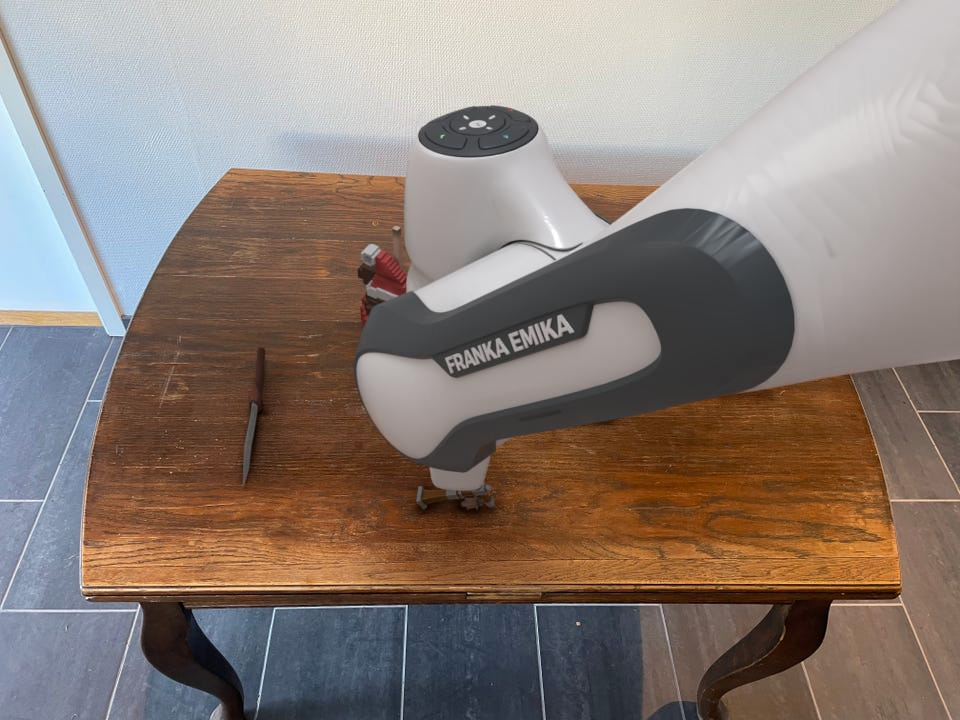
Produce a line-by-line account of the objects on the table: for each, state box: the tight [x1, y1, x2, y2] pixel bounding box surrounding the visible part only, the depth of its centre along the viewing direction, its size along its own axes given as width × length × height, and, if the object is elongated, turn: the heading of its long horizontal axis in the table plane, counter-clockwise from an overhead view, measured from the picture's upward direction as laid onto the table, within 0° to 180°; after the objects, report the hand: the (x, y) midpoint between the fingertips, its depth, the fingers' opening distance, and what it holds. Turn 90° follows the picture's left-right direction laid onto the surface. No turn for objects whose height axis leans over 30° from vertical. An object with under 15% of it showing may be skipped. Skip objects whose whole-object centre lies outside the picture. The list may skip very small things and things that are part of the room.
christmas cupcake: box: [356, 225, 408, 329], centre depth 81 cm, size 11×9×18 cm
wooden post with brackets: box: [416, 481, 496, 511], centre depth 72 cm, size 2×8×4 cm, turn 86°
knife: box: [242, 346, 266, 488], centre depth 78 cm, size 18×2×3 cm, turn 5°
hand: (460, 421), depth 62 cm, fingers open, 3 cm apart
